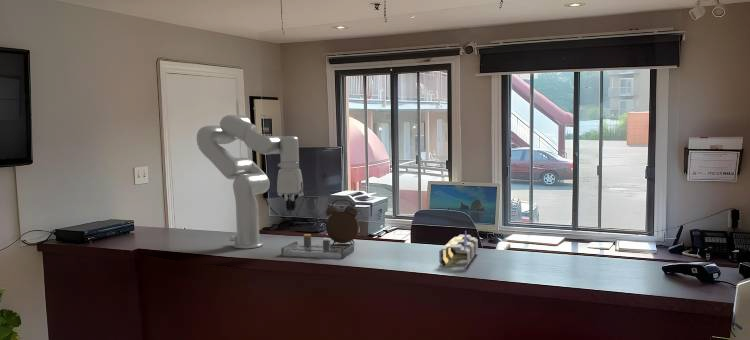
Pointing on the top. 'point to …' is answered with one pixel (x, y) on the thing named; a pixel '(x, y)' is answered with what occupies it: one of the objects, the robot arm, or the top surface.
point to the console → (316, 251)
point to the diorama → (459, 248)
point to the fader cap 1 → (307, 240)
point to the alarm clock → (342, 223)
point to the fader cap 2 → (326, 244)
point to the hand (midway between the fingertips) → (291, 210)
